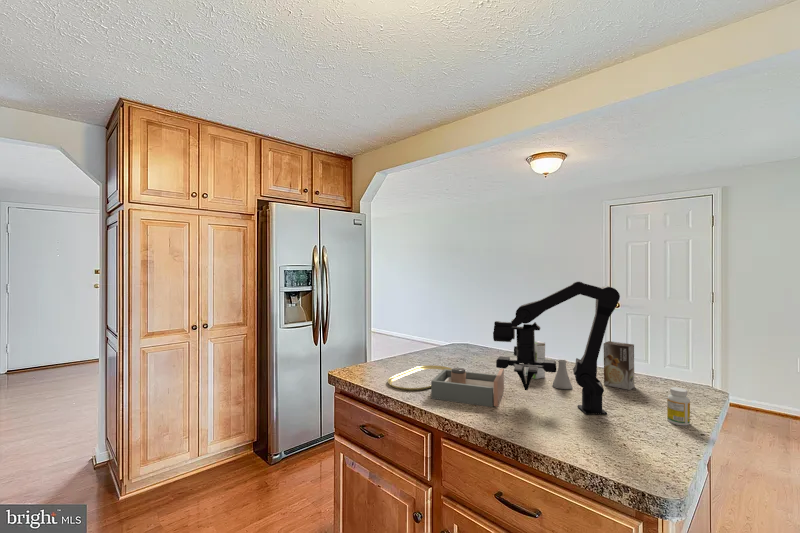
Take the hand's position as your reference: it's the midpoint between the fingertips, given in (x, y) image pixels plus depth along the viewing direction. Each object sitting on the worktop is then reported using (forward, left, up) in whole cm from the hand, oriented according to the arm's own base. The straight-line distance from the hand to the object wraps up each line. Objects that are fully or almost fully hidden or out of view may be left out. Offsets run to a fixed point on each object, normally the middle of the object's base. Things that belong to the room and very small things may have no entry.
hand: (526, 389), depth 127 cm
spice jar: (+8, +22, -3) cm, 23 cm away
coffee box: (+19, -40, -4) cm, 45 cm away
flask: (+17, -18, -5) cm, 26 cm away
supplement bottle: (-15, -39, -4) cm, 42 cm away
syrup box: (+30, -12, -4) cm, 33 cm away
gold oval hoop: (+26, +34, -5) cm, 43 cm away
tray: (+6, +16, -4) cm, 18 cm away
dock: (+7, +19, -4) cm, 21 cm away
